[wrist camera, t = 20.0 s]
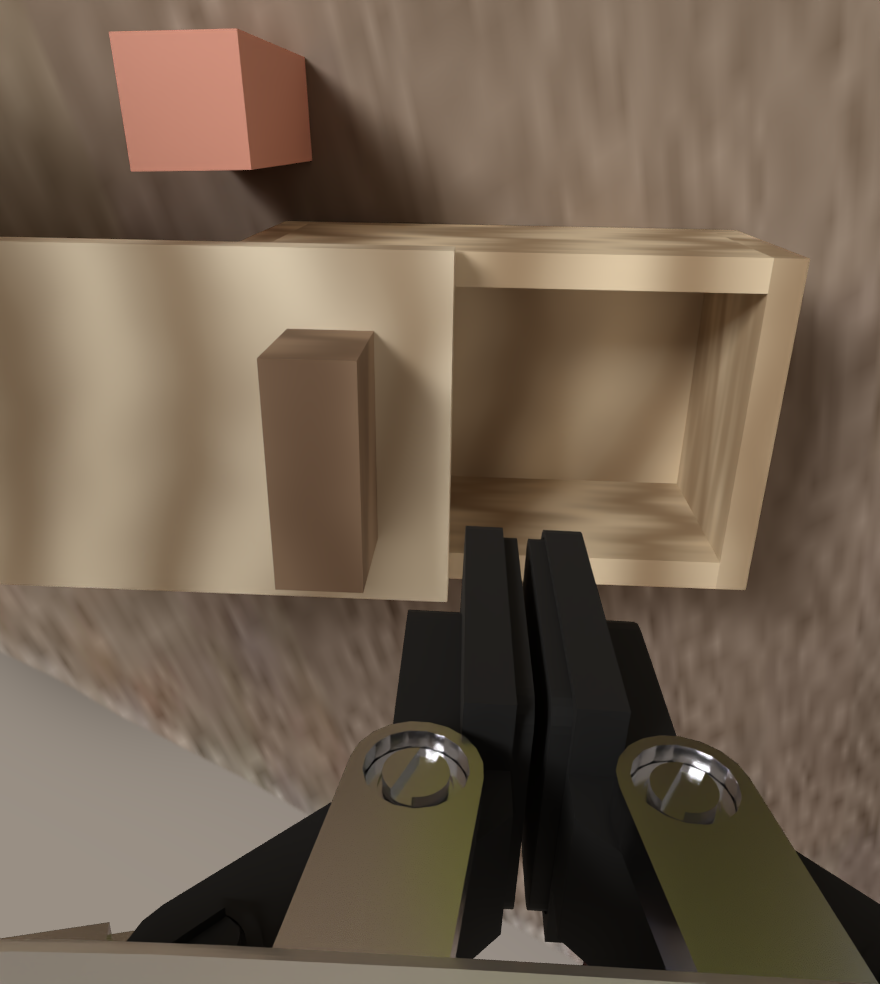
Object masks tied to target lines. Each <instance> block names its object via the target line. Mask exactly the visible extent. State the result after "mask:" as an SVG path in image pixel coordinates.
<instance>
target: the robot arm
mask: <svg viewBox="0 0 880 984" xmlns="http://www.w3.org/2000/svg"><path fill="white" fill-rule="evenodd" d="M521 843H522V857H523V872H524V886H525V900H526V907H527V910H534V911H542V914H543V925H544V935H545V942H559V943H564V944H565V945H566V946H567V947H568V948H569V949H571V950H572V951H573V952H574V953H575V954H576V955H577V956H578V957H580V958H581V959H582V960H583V965H566V964H550V963H533V962H517V961H500V960H483V959H473V958H474V957H475V956H476V955H478V954H479V953H480V952H481V951H482V950H483V949H484V948H486V947H487V946H488V945H489V944H490V943H491V942H492V941H494V940H495V939H496V938H497V937H498V936H499V935H500V934H501V926H502V916H503V909H513V908H514V902H515V893H516V884H517V875H518V866H519V857H520V849H521ZM0 984H880V904H878V903H877V902H875V901H874V900H872V899H871V898H869V897H867V896H866V895H864V894H863V893H861V892H860V891H858V890H856V889H855V888H853V887H852V886H850V885H849V884H847V883H845V882H844V881H842V880H841V879H839V878H838V877H836V876H835V875H833V874H831V873H830V872H828V871H827V870H825V869H824V868H822V867H820V866H819V865H817V864H816V863H814V862H813V861H811V860H809V859H808V858H806V857H805V856H803V855H802V854H800V853H798V852H797V851H795V850H794V848H793V846H792V845H791V843H790V842H789V840H788V838H787V837H786V835H785V834H784V832H783V830H782V829H781V827H780V826H779V824H778V822H777V821H776V819H775V818H774V816H773V815H772V813H771V811H770V810H769V808H768V807H767V805H766V803H765V802H764V800H763V799H762V797H761V795H760V794H759V792H758V791H757V789H756V787H755V786H754V784H753V783H752V781H751V779H750V778H749V777H748V776H747V774H746V773H745V772H744V771H743V770H742V769H741V767H740V766H739V765H738V764H737V763H736V762H734V761H733V760H732V759H730V758H729V757H728V756H726V755H725V754H724V753H722V752H721V751H719V750H717V749H715V748H713V747H711V746H709V745H707V744H704V743H702V742H700V741H696V740H692V739H688V738H684V737H681V736H676V733H675V730H674V727H673V724H672V721H671V718H670V716H669V713H668V710H667V707H666V704H665V701H664V698H663V695H662V692H661V689H660V686H659V683H658V680H657V677H656V674H655V671H654V668H653V665H652V662H651V659H650V656H649V653H648V651H647V648H646V645H645V642H644V639H643V636H642V633H641V630H640V628H639V626H638V624H637V623H635V622H626V621H608V620H606V619H605V615H604V611H603V608H602V604H601V600H600V597H599V593H598V590H597V586H596V582H595V579H594V575H593V571H592V568H591V564H590V560H589V557H588V553H587V549H586V546H585V542H584V539H583V535H582V533H581V532H577V531H558V530H543V531H542V535H541V539H528V541H527V548H526V558H525V568H524V578H523V586H522V577H521V568H520V560H519V551H518V542H517V538H505V537H504V536H503V528H500V527H481V526H466V528H465V541H464V558H463V575H462V591H461V608H460V613H459V612H441V611H422V610H408V615H407V622H406V630H405V637H404V645H403V652H402V660H401V668H400V675H399V683H398V691H397V698H396V706H395V714H394V721H393V724H390V725H388V726H386V727H383V728H381V729H378V730H376V731H374V732H372V733H371V734H370V735H368V736H367V737H366V738H364V739H363V740H362V741H361V742H359V744H358V745H357V747H356V748H355V750H354V751H353V753H352V754H351V756H350V759H349V761H348V763H347V766H346V768H345V771H344V773H343V776H342V778H341V781H340V783H339V785H338V788H337V790H336V793H335V795H334V798H333V800H332V802H331V803H329V804H327V805H326V806H324V807H323V808H321V809H319V810H318V811H316V812H314V813H313V814H311V815H309V816H308V817H306V818H305V819H303V820H301V821H300V822H298V823H297V824H295V825H293V826H292V827H290V828H288V829H287V830H285V831H283V832H282V833H280V834H278V835H277V836H275V837H274V838H272V839H270V840H268V841H267V842H265V843H264V844H262V845H260V846H259V847H257V848H255V849H254V850H252V851H251V852H249V853H247V854H246V855H244V856H242V857H241V858H239V859H238V860H236V861H234V862H233V863H231V864H229V865H228V866H226V867H224V868H223V869H221V870H219V871H218V872H216V873H215V874H213V875H211V876H209V877H208V878H206V879H205V880H203V881H201V882H200V883H198V884H196V885H195V886H193V887H192V888H190V889H188V890H187V891H185V892H183V893H182V894H180V895H178V896H177V897H175V898H174V899H172V900H170V901H169V902H167V903H165V904H164V905H162V906H161V907H160V908H158V909H157V910H156V911H155V912H154V913H152V914H151V915H150V916H148V917H147V918H146V919H144V920H143V921H142V922H141V923H140V925H139V926H138V927H137V929H136V930H135V931H129V932H123V933H116V934H111V928H110V923H109V922H107V923H101V924H94V925H87V926H81V927H74V928H68V929H60V930H54V931H47V932H40V933H34V934H27V935H20V936H14V937H7V938H0Z"/></svg>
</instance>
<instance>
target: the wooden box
mask: <svg viewBox="0 0 880 984" xmlns="http://www.w3.org/2000/svg"><path fill="white" fill-rule="evenodd" d="M239 242H273V243H320V244H367V245H415V246H456V247H455V295H454V342H453V390H452V438H451V485H450V533H449V579H462V575H463V558H464V541H465V528H466V526H481V527H500V528H503V536H504V537H505V538H517V542H518V551H519V560H520V568H521V577H522V581H523V578H524V568H525V558H526V548H527V541H528V539H541V535H542V531H543V530H558V531H577V532H581V533H582V535H583V539H584V542H585V546H586V549H587V553H588V557H589V560H590V564H591V568H592V571H593V575H594V579H595V582H596V584H603V585H628V586H654V587H680V588H706V589H732V590H746V585H747V580H748V575H749V569H750V564H751V559H752V554H753V549H754V544H755V539H756V534H757V528H758V523H759V518H760V513H761V508H762V503H763V498H764V493H765V487H766V482H767V477H768V472H769V467H770V462H771V457H772V452H773V446H774V441H775V436H776V431H777V426H778V421H779V416H780V411H781V405H782V400H783V395H784V390H785V385H786V380H787V375H788V370H789V364H790V359H791V354H792V349H793V344H794V339H795V334H796V329H797V323H798V318H799V313H800V308H801V303H802V298H803V293H804V288H805V282H806V277H807V272H808V267H809V262H810V259H809V258H806V257H804V256H801V255H799V254H796V253H794V252H791V251H788V250H786V249H783V248H781V247H778V246H775V245H773V244H770V243H768V242H765V241H762V240H760V239H757V238H755V237H752V236H749V235H747V234H744V233H742V232H739V231H736V230H708V229H658V228H608V227H558V226H509V225H459V224H409V223H359V222H309V221H285V222H283V223H281V224H278V225H276V226H274V227H271V228H269V229H267V230H264V231H262V232H260V233H257V234H255V235H253V236H251V237H248V238H246V239H244V240H241V241H239Z"/></svg>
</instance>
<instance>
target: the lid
mask: <svg viewBox="0 0 880 984" xmlns="http://www.w3.org/2000/svg"><path fill="white" fill-rule="evenodd" d="M455 247H456V246H415V245H367V244H320V243H273V242H226V241H179V240H132V239H85V238H38V237H0V584H8V585H33V586H58V587H83V588H108V589H133V590H158V591H183V592H208V593H233V594H258V595H283V596H308V597H333V598H358V599H383V600H408V601H433V602H447V597H448V580H449V533H450V485H451V438H452V390H453V342H454V295H455Z"/></svg>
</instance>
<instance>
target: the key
mask: <svg viewBox="0 0 880 984" xmlns="http://www.w3.org/2000/svg"><path fill="white" fill-rule="evenodd" d="M109 36H110V42H111V48H112V55H113V61H114V67H115V74H116V80H117V86H118V93H119V99H120V105H121V111H122V118H123V124H124V130H125V137H126V143H127V149H128V155H129V162H130V168H131V172H135V171H204V170H253V169H260V168H267V167H274V166H280V165H287V164H294V163H300V162H307V161H312V150H311V137H310V123H309V109H308V96H307V82H306V69H305V57H303V56H300V55H298V54H296V53H293V52H291V51H288V50H286V49H284V48H281V47H279V46H277V45H274V44H272V43H270V42H267V41H265V40H263V39H260V38H258V37H255V36H253V35H251V34H248V33H246V32H244V31H241V30H239V29H200V30H159V31H118V32H109Z"/></svg>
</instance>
